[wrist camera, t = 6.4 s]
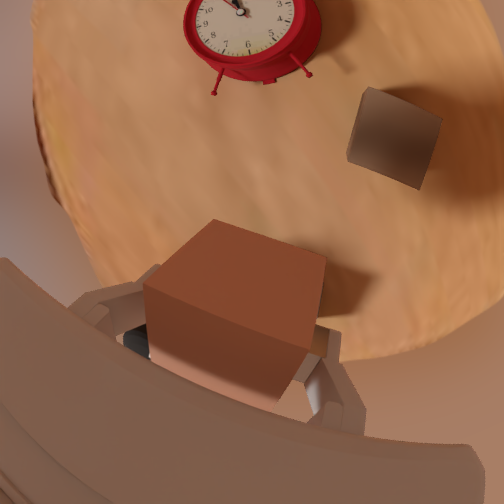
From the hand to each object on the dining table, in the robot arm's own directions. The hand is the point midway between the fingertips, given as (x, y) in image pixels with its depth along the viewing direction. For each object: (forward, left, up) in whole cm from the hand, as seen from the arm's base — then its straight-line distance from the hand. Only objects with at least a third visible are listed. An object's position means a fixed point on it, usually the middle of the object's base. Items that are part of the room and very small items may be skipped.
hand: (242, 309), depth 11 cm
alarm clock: (-16, -7, -14) cm, 23 cm away
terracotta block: (0, 0, -2) cm, 2 cm away
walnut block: (-8, +5, -14) cm, 17 cm away
